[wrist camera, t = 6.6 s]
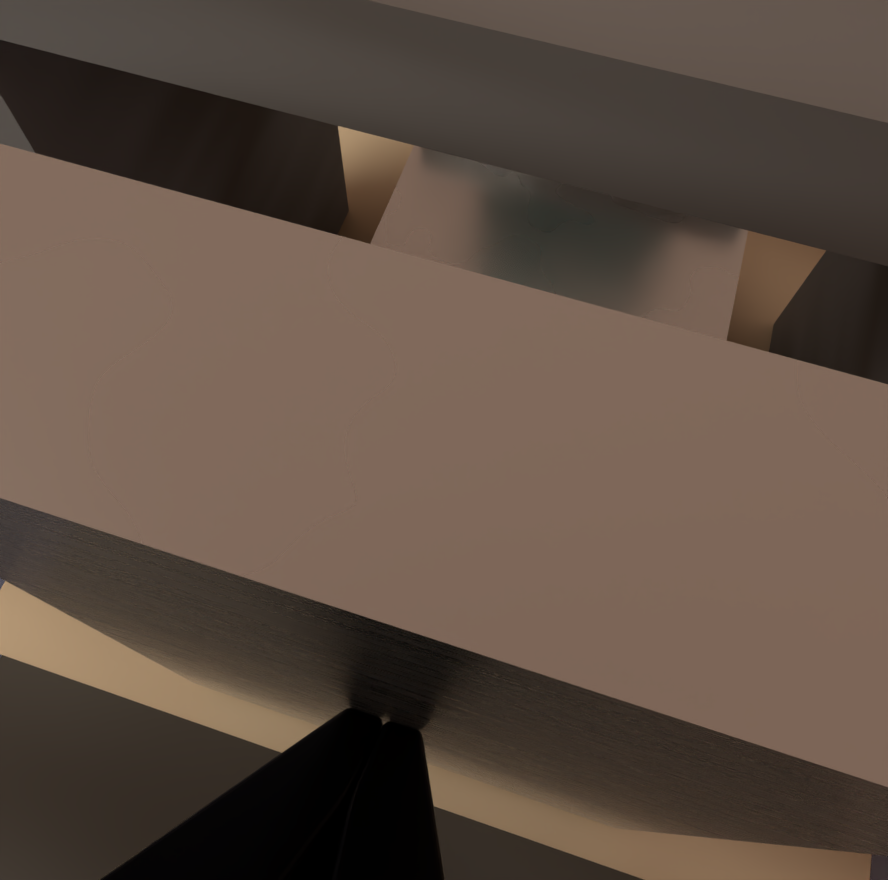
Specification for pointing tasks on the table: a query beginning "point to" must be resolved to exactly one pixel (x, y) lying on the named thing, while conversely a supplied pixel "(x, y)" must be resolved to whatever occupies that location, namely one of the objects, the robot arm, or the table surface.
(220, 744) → the tunnel deck
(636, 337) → the steel sled
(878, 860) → the table surface
